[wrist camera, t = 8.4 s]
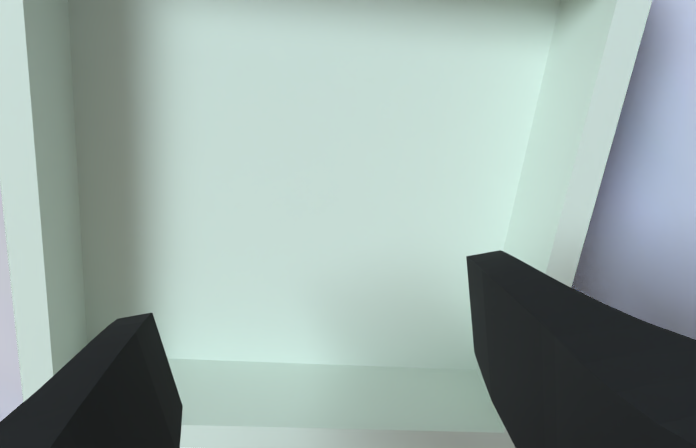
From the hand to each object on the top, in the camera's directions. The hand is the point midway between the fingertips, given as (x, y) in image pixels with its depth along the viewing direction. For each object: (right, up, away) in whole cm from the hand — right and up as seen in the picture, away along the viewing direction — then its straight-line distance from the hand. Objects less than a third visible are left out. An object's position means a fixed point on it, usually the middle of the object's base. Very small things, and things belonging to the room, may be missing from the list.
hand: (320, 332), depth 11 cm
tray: (-1, +3, +8) cm, 8 cm away
